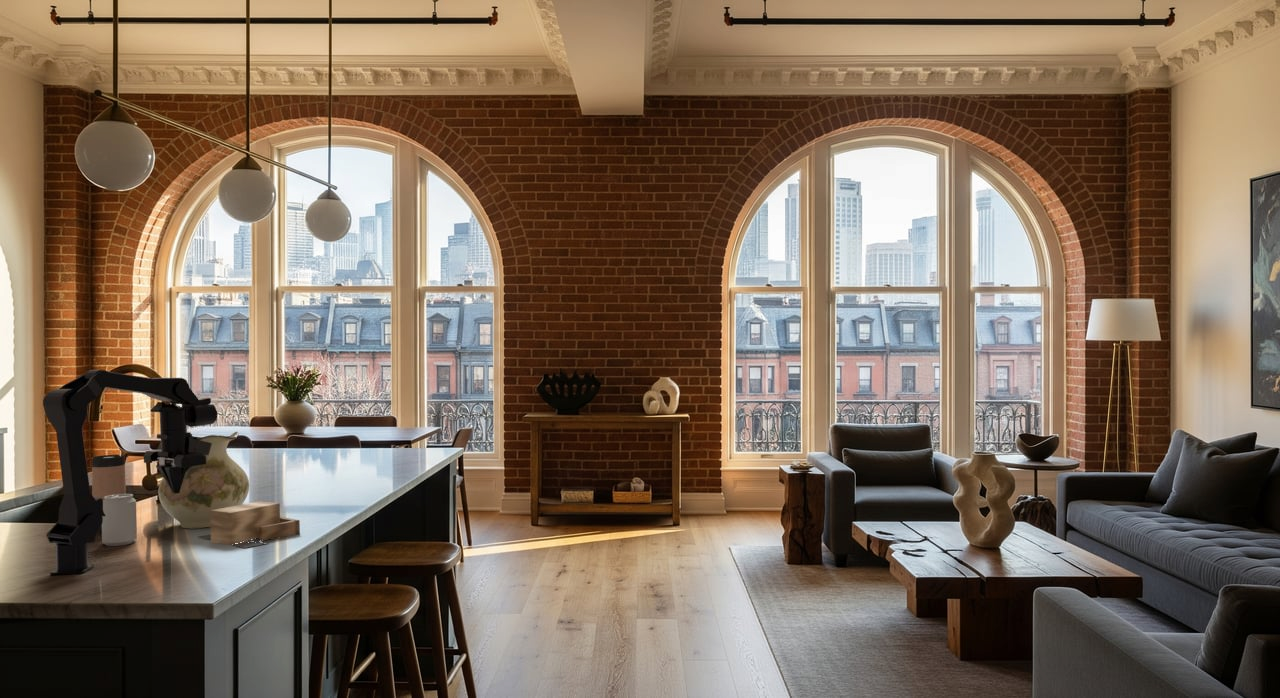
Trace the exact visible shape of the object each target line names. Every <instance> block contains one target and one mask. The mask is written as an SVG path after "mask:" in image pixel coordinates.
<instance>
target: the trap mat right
mask: <svg viewBox="0 0 1280 698" xmlns="http://www.w3.org/2000/svg"><path fill="white" fill-rule="evenodd" d="M257 540H258V539H255V540H252V541H254V542H250V541H247V542H242V543H238V544H233V545H231V546H233V547H236V546H237V547H236V548H240V547H242V548H241V549H244V548H245V549H249V548H248V547H250V548H253V547H252V546H255V547H258V546H257V545H260V546H263V545H262V544H264V543H267V542H266V541H262V542H263V543H260V542H259V540H258V541H257ZM248 542H249V543H248ZM255 542H256V543H255Z"/></svg>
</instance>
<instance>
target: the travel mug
mask: <svg viewBox="0 0 1280 698" xmlns="http://www.w3.org/2000/svg"><path fill="white" fill-rule="evenodd" d="M125 458H126V455H120V454H105V455H104V454H103V455H96V456H93V457H91V485H92V486H91V488H92V489H91V490H92V492H91V494H92V495H93V497H94V498H102V500H103V501H104V500H105V499H104V497H106V496H110V495H117V494H127V492H126V491H127V488H126V487H127V486H126V483H127V482H126V481H127V480H126V459H125ZM97 535H102V526H100V527H99V529H98V532H97Z"/></svg>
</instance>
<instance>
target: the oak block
mask: <svg viewBox="0 0 1280 698" xmlns="http://www.w3.org/2000/svg"><path fill="white" fill-rule="evenodd" d="M280 504H281V503H279V502H271V501H270V502H269V501H261V500H258V501H253V502H248V503H243V504H241V505H236V506H231V507H225V508H220V509H215V510H210V522H211V527H210V534H211V540H210V542H211V543H216V544H224V545H228V544H229V546H232V544H235V543H240V542H242V543H243V541H247V540H251V539H255V538H259V527H261V526H266V525H272V524H277V523H280V517H281V505H280ZM255 540H256V539H255ZM251 541H252V540H251ZM247 542H248V541H247Z"/></svg>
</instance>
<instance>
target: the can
mask: <svg viewBox="0 0 1280 698" xmlns="http://www.w3.org/2000/svg"><path fill="white" fill-rule="evenodd" d="M104 499H105V500H104V501H103V511H104V514H105V516H102V517H103V523H102V534H101V542H102V543H103V544H104V545H105V546H107V547H118V546H125V545H129V544H132V543H134V542H135V540H137V538H138V528H137V522H138V520H137V499H135V498H134V494H132V493H126V494H117V495H110V496H106V497H104Z"/></svg>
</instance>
